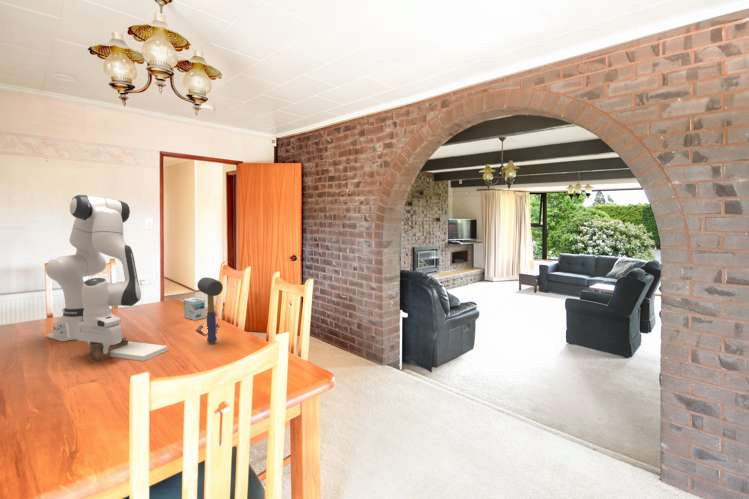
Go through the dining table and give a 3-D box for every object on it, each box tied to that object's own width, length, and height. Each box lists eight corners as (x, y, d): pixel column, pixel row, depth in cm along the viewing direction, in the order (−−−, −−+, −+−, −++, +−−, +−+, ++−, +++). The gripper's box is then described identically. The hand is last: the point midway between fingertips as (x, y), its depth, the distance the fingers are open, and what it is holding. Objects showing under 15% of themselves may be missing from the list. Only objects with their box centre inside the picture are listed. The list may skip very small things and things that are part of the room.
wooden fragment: (218, 335, 181) (218, 333, 181) (193, 338, 178) (193, 335, 178) (220, 321, 205) (220, 319, 205) (198, 323, 202) (198, 321, 202)
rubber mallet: (226, 344, 168) (224, 278, 165) (209, 348, 163) (206, 281, 160) (214, 338, 177) (212, 275, 174) (198, 341, 172) (195, 277, 169)
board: (101, 355, 155) (101, 350, 155) (127, 345, 166) (127, 341, 166) (144, 361, 149) (143, 356, 149) (167, 350, 161) (167, 346, 160)
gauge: (90, 360, 149) (89, 343, 149) (123, 348, 163) (122, 332, 162) (98, 361, 148) (96, 344, 148) (130, 348, 162) (129, 333, 161)
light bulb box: (206, 318, 210) (205, 299, 209) (194, 320, 205) (194, 301, 204) (194, 315, 216) (194, 296, 215) (183, 317, 210) (182, 299, 209)
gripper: (69, 319, 149) (72, 352, 151) (109, 323, 144) (111, 358, 145) (85, 315, 155) (87, 347, 157) (124, 319, 150) (126, 352, 151)
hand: (99, 352), depth 151 cm, fingers closed on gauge, 4 cm apart
